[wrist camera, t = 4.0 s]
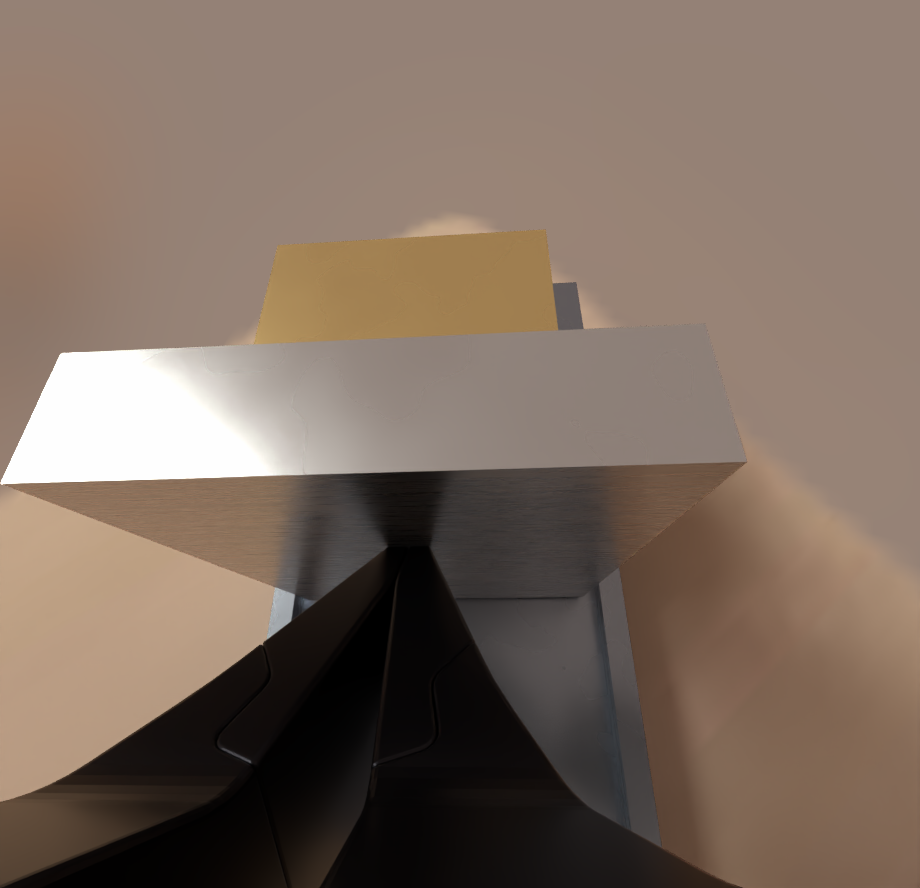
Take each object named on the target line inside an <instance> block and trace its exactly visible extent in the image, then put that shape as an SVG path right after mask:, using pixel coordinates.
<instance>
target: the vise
mask: <svg viewBox="0 0 920 888" xmlns="http://www.w3.org/2000/svg"><path fill="white" fill-rule="evenodd" d="M553 292H554V300H555V308H556V316H557V324H558V330H577V329H583V323H582V316H581V310H580V303H579V297H578V290H577V284H576V282H573V283H554V284H553ZM455 600H456V602H457V604H458V606H459V609H460V611H461V613H462V615H463V617H464V619H465V621H466V623H467V625H468V628H469V630H470V632H471V634H472V636H473V638H474V640H475V644H477V646H478V648H479V650H480V652H481V654H482V657H483V659H484V661H485V663H486V664H487V666H488V668H489V670H490V672H491V674H492V676H493V678H494V679H495V681H496V683H497V684H498V686H499V687H500V689H501V691H502V692H503V694H504V695H505V697H506V698H507V700H508V701H509V703H510V705H511V706H512V707H513V709H514V710H515V712H516V713H517V715H518V716H519V718H520V719H521V720H522V722H523V723H524V725H525V726H526V728H527V729H528V730H529V732H530V733H531V735H532V736H533V738H534V739H535V740H536V742H537V743H538V745H539V746H540V748H541V749H542V751H543V752H544V753H545V755H546V756H547V758H548V759H549V761H550V762H551V763H552V765H553V766H554V768H555V769H556V771H557V772H558V773H559V775H560V776H561V777H562V779H563V780H564V781H565V783H566V784H567V785H568V786H569V787H570V789H571V790H572V791H573V792H574V793H575V794H576V795H577V796H578V797H579V798H580V799H581V800H582V801H583V802H584V803H585V804H587V805H588V806H589V807H590V808H592V809H593V810H595V811H597V812H598V813H600V814H602V815H604V816H606V817H607V818H609V819H611V820H613V821H615V822H616V823H618V824H620V825H622V826H624V827H625V828H627V829H629V830H631V831H633V832H634V833H636V834H638V835H640V836H642V837H643V838H645V839H647V840H649V841H651V842H652V843H654V844H656V845H658V846H660V847H661V848H662V845H661V838H660V831H659V825H658V818H657V812H656V805H655V799H654V792H653V786H652V779H651V773H650V766H649V760H648V753H647V747H646V740H645V733H644V727H643V720H642V714H641V707H640V701H639V694H638V688H637V681H636V675H635V668H634V662H633V655H632V649H631V642H630V635H629V629H628V622H627V616H626V609H625V603H624V596H623V590H622V583H621V577H620V570H619V568H617V569H616V570H615V571H614V572H612V573H611V574H610V575H609V576H608V577H606V578H605V579H604V580H603V581H602V582H600V583H599V584H598V585H597V586H595V587H594V588H593V589H592V590H591V591H589V592H588V593H587V594H586V595H584V596H583V597H533V598H456V599H455ZM316 601H318V600H308V599H305V598H303V597H300V596H297V595H295V594H292V593H289V592H287V591H284V590H281V589H279V588H276V587H275V592H274V598H273V604H272V610H271V616H270V622H269V628H268V634H267V639H268V638H270V637H271V636H272V635H273V634H275V633H276V632H277V631H279V630H280V629H281V628H283V627H284V626H285V625H286V624H288V623H289V622H290V621H292V620H293V619H294V618H296V617H297V616H298V615H300V614H301V613H302V612H303V611H305V610H306V609H307V608H309V607H310V606H311V605H313V604H314V603H315V602H316Z"/></svg>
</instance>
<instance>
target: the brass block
mask: <svg viewBox="0 0 920 888" xmlns="http://www.w3.org/2000/svg"><path fill="white" fill-rule="evenodd" d="M555 330H558V324H557V316H556V308H555V300H554V292H553V284H552V276H551V268H550V260H549V252H548V244H547V236H546V230H530V231H513V232H496V233H479V234H462V235H445V236H428V237H411V238H394V239H377V240H360V241H345V242H344V241H343V242H326V243H310V244H292V245H278V247H277V251H276V255H275V259H274V263H273V267H272V271H271V275H270V280H269V284H268V288H267V292H266V296H265V300H264V304H263V308H262V312H261V317H260V321H259V325H258V329H257V333H256V337H255V341H254V344H274V343H296V342H317V341H339V340H361V339H382V338H404V337H425V336H447V335H469V334H490V333H512V332H533V331H555Z"/></svg>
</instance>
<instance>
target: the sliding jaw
mask: <svg viewBox="0 0 920 888" xmlns="http://www.w3.org/2000/svg"><path fill="white" fill-rule="evenodd" d="M746 462H747V459H746V456H745V453H744V450H743V446H742V443H741V440H740V436H739V433H738V430H737V426H736V423H735V420H734V417H733V413H732V410H731V407H730V403H729V400H728V397H727V394H726V391H725V387H724V384H723V381H722V377H721V374H720V371H719V367H718V364H717V361H716V358H715V354H714V351H713V348H712V345H711V341H710V338H709V334H708V331H707V328H706V325H705V324H684V325H664V326H641V327H620V328H598V329H577V330H555V331H533V332H512V333H490V334H469V335H447V336H425V337H404V338H382V339H361V340H339V341H317V342H296V343H274V344H253V345H231V346H210V347H188V348H166V349H145V350H123V351H103V352H82V353H61V354H60V357H59V359H58V361H57V363H56V365H55V367H54V370H53V372H52V374H51V376H50V378H49V380H48V382H47V385H46V387H45V389H44V391H43V393H42V395H41V397H40V400H39V402H38V404H37V406H36V408H35V411H34V413H33V415H32V417H31V419H30V421H29V423H28V426H27V428H26V430H25V432H24V434H23V436H22V438H21V440H20V443H19V445H18V447H17V449H16V452H15V453H14V456H13V458H12V460H11V462H10V464H9V466H8V468H7V471H6V473H5V475H4V477H3V479H2V481H1V484H3V485H5V486H8V487H11V488H13V489H16V490H19V491H21V492H24V493H27V494H29V495H32V496H35V497H37V498H40V499H43V500H45V501H48V502H50V503H53V504H56V505H58V506H61V507H64V508H66V509H69V510H72V511H74V512H77V513H80V514H82V515H85V516H88V517H90V518H93V519H96V520H98V521H101V522H104V523H106V524H109V525H112V526H114V527H117V528H119V529H122V530H125V531H127V532H130V533H133V534H135V535H138V536H141V537H143V538H146V539H149V540H151V541H154V542H157V543H159V544H162V545H165V546H167V547H170V548H173V549H175V550H178V551H180V552H183V553H186V554H188V555H191V556H194V557H196V558H199V559H202V560H204V561H207V562H210V563H212V564H215V565H218V566H220V567H223V568H226V569H228V570H231V571H234V572H236V573H239V574H242V575H244V576H247V577H249V578H252V579H255V580H257V581H260V582H263V583H265V584H268V585H271V586H273V587H276V588H279V589H281V590H284V591H287V592H289V593H292V594H295V595H297V596H300V597H303V598H305V599H308V600H319V599H320V598H322V597H323V596H324V595H326V594H327V593H328V592H330V591H331V590H332V589H333V588H335V587H336V586H337V585H339V584H340V583H341V582H343V581H344V580H345V579H346V578H348V577H349V576H350V575H352V574H353V573H354V572H356V571H357V570H358V569H360V568H361V567H362V566H363V565H365V564H366V563H367V562H369V561H370V560H371V559H373V558H374V557H375V556H376V555H378V554H379V553H380V552H382V551H383V550H384V549H386V548H387V547H408V549H409V548H410V547H411V546H429V547H430V548H431V549H432V551H433V553H434V556H435V558H436V560H437V562H438V564H439V566H440V568H441V570H442V573H443V575H444V577H445V579H446V581H447V583H448V585H449V587H450V589H451V592H452V594H453V596H454V598H455V599H456V598H533V597H583V596H584V595H586V594H587V593H588V592H589V591H591V590H592V589H593V588H594V587H595V586H597V585H598V584H599V583H600V582H602V581H603V580H604V579H605V578H606V577H608V576H609V575H610V574H611V573H612V572H614V571H615V570H616V569H617V568H619V567H620V566H621V565H622V564H623V563H625V562H626V561H627V560H628V559H630V558H631V557H632V556H633V555H634V554H636V553H637V552H638V551H639V550H640V549H642V548H643V547H644V546H645V545H647V544H648V543H649V542H650V541H651V540H653V539H654V538H655V537H656V536H658V535H659V534H660V533H661V532H662V531H664V530H665V529H666V528H667V527H668V526H670V525H671V524H672V523H673V522H675V521H676V520H677V519H678V518H679V517H681V516H682V515H683V514H684V513H685V512H687V511H688V510H689V509H690V508H692V507H693V506H694V505H695V504H696V503H698V502H699V501H700V500H701V499H703V498H704V497H705V496H706V495H707V494H709V493H710V492H711V491H712V490H713V489H715V488H716V487H717V486H718V485H720V484H721V483H722V482H723V481H724V480H726V479H727V478H728V477H729V476H731V475H732V474H733V473H734V472H735V471H737V470H738V469H739V468H740V467H741V466H743V465H744V464H745V463H746Z"/></svg>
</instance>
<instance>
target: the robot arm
mask: <svg viewBox="0 0 920 888" xmlns="http://www.w3.org/2000/svg"><path fill="white" fill-rule="evenodd" d="M0 888H742V887H739V886H736V885H733V884H730V883H727V882H725V881H723V880H721V879H719V878H717V877H715V876H713V875H711V874H709V873H707V872H705V871H703V870H701V869H699V868H698V867H696V866H694V865H692V864H690V863H689V862H687V861H685V860H683V859H681V858H679V857H678V856H676V855H674V854H672V853H670V852H669V851H667V850H665V849H663V848H661V847H660V846H658V845H656V844H654V843H652V842H651V841H649V840H647V839H645V838H643V837H642V836H640V835H638V834H636V833H634V832H633V831H631V830H629V829H627V828H625V827H624V826H622V825H620V824H618V823H616V822H615V821H613V820H611V819H609V818H607V817H606V816H604V815H602V814H600V813H598V812H597V811H595V810H593V809H592V808H590V807H589V806H588V805H587V804H585V803H584V802H583V801H582V800H581V799H580V798H579V797H578V796H577V795H576V794H575V793H574V792H573V791H572V790H571V789H570V787H569V786H568V785H567V784H566V783H565V781H564V780H563V779H562V777H561V776H560V775H559V773H558V772H557V771H556V769H555V768H554V766H553V765H552V763H551V762H550V761H549V759H548V758H547V756H546V755H545V753H544V752H543V751H542V749H541V748H540V746H539V745H538V743H537V742H536V740H535V739H534V738H533V736H532V735H531V733H530V732H529V730H528V729H527V728H526V726H525V725H524V723H523V722H522V720H521V719H520V718H519V716H518V715H517V713H516V712H515V710H514V709H513V707H512V706H511V705H510V703H509V701H508V700H507V698H506V697H505V695H504V694H503V692H502V691H501V689H500V687H499V686H498V684H497V683H496V681H495V679H494V678H493V676H492V674H491V672H490V670H489V668H488V666H487V664H486V663H485V661H484V659H483V657H482V654H481V652H480V650H479V648H478V646H477V644H475V640H474V638H473V636H472V634H471V632H470V630H469V628H468V625H467V623H466V621H465V619H464V617H463V615H462V613H461V611H460V609H459V606H458V604H457V602H456V600H455V598H454V596H453V594H452V592H451V589H450V587H449V585H448V583H447V581H446V579H445V577H444V575H443V573H442V570H441V568H440V566H439V564H438V562H437V560H436V558H435V556H434V553H433V551H432V549H431V548H430V547H429V546H411V547H410V548H409V549H408V547H387V548H386V549H384V550H383V551H382V552H380V553H379V554H378V555H376V556H375V557H374V558H373V559H371V560H370V561H369V562H367V563H366V564H365V565H363V566H362V567H361V568H360V569H358V570H357V571H356V572H354V573H353V574H352V575H350V576H349V577H348V578H346V579H345V580H344V581H343V582H341V583H340V584H339V585H337V586H336V587H335V588H333V589H332V590H331V591H330V592H328V593H327V594H326V595H324V596H323V597H322V598H320V599H319V600H318V601H316V602H315V603H314V604H313V605H311V606H310V607H309V608H307V609H306V610H305V611H303V612H302V613H301V614H300V615H298V616H297V617H296V618H294V619H293V620H292V621H290V622H289V623H288V624H286V625H285V626H284V627H283V628H281V629H280V630H279V631H277V632H276V633H275V634H273V635H272V636H271V637H270V638H268V639H267V640H266V641H264V643H263V645H259V646H258V647H256V648H255V649H254V650H252V651H251V652H250V653H248V654H247V655H246V656H245V657H243V658H242V659H241V660H239V661H238V662H236V663H235V664H234V665H232V666H231V667H230V668H228V669H227V670H226V671H224V672H223V673H221V674H220V675H219V676H217V677H216V678H215V679H213V680H212V681H210V682H209V683H207V684H206V685H205V686H203V687H202V688H200V689H199V690H197V691H196V692H194V693H193V694H191V695H190V696H188V697H187V698H185V699H184V700H183V701H181V702H180V703H178V704H177V705H175V706H174V707H172V708H171V709H169V710H167V711H166V712H164V713H163V714H161V715H160V716H158V717H157V718H155V719H154V720H152V721H151V722H149V723H148V724H146V725H145V726H143V727H142V728H140V729H139V730H137V731H136V732H134V733H133V734H131V735H130V736H128V737H126V738H125V739H123V740H122V741H120V742H119V743H117V744H116V745H114V746H113V747H111V748H110V749H108V750H107V751H105V752H104V753H102V754H101V755H99V756H98V757H96V758H95V759H93V760H92V761H90V762H89V763H87V764H85V765H84V766H82V767H81V768H79V769H77V770H76V771H74V772H72V773H71V774H69V775H67V776H65V777H63V778H62V779H60V780H58V781H56V782H54V783H52V784H50V785H48V786H45V787H43V788H40V789H38V790H36V791H33V792H31V793H28V794H25V795H22V796H19V797H16V798H13V799H10V800H6V801H2V802H0Z"/></svg>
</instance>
